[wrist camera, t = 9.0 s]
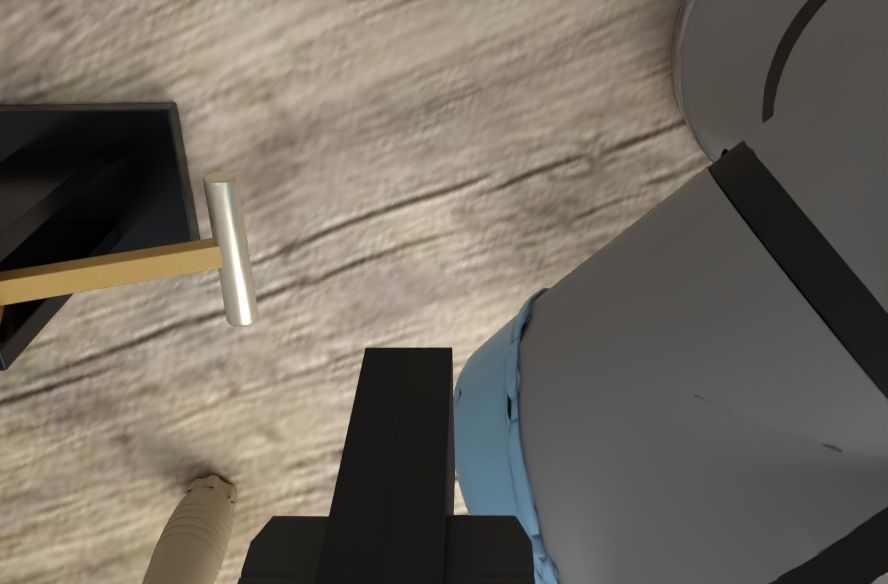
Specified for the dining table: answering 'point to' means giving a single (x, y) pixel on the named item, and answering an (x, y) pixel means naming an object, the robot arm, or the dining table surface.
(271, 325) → the dining table surface
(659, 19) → the dining table surface
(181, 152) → the bracket
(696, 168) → the dining table surface
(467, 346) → the dining table surface
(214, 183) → the lever
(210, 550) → the handle
